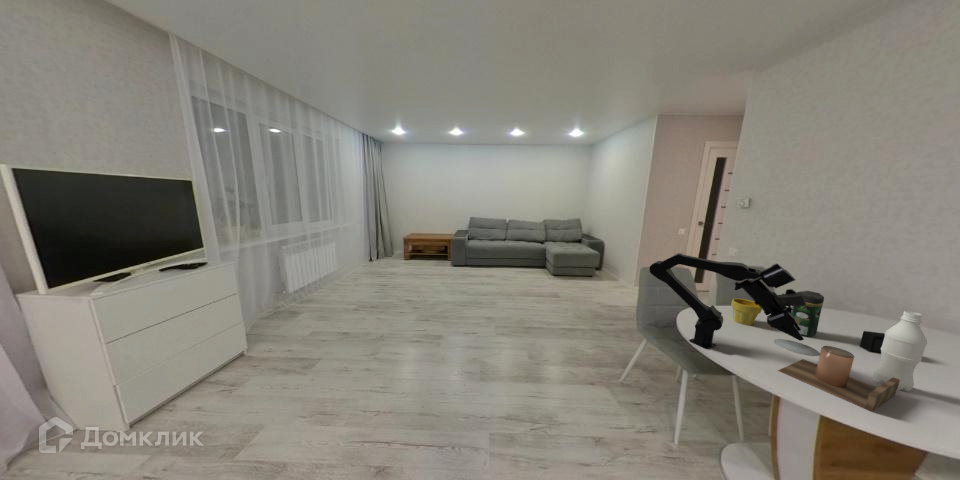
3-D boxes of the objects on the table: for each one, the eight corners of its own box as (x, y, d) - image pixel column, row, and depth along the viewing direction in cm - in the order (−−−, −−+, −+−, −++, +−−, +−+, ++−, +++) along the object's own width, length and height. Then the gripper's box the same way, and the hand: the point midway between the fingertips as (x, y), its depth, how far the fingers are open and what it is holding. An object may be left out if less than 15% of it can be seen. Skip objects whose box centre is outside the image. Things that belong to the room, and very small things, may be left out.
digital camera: (872, 353, 107) (877, 336, 106) (858, 346, 112) (863, 330, 111) (911, 359, 103) (916, 342, 102) (895, 351, 108) (900, 335, 107)
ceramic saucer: (810, 361, 101) (811, 358, 101) (766, 344, 112) (767, 342, 112) (825, 354, 106) (826, 352, 105) (782, 339, 117) (782, 336, 116)
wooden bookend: (871, 415, 77) (876, 395, 76) (776, 373, 94) (780, 357, 93) (894, 397, 83) (900, 379, 82) (802, 361, 101) (806, 346, 100)
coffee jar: (792, 326, 128) (801, 287, 125) (818, 334, 121) (828, 293, 118) (783, 330, 124) (791, 290, 121) (809, 338, 117) (819, 297, 114)
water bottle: (864, 379, 91) (884, 308, 87) (883, 379, 92) (904, 307, 88) (898, 395, 84) (922, 318, 80) (918, 394, 85) (943, 318, 81)
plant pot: (764, 328, 126) (768, 308, 124) (738, 325, 128) (741, 305, 126) (747, 318, 136) (751, 299, 134) (723, 316, 138) (726, 297, 136)
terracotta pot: (841, 389, 85) (849, 358, 83) (810, 376, 91) (817, 347, 89) (850, 384, 87) (858, 354, 86) (819, 372, 93) (826, 343, 91)
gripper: (790, 289, 87) (837, 335, 81) (786, 277, 100) (826, 316, 94) (750, 305, 94) (791, 349, 88) (751, 292, 107) (787, 329, 101)
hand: (800, 335), depth 93 cm, fingers open, 9 cm apart
